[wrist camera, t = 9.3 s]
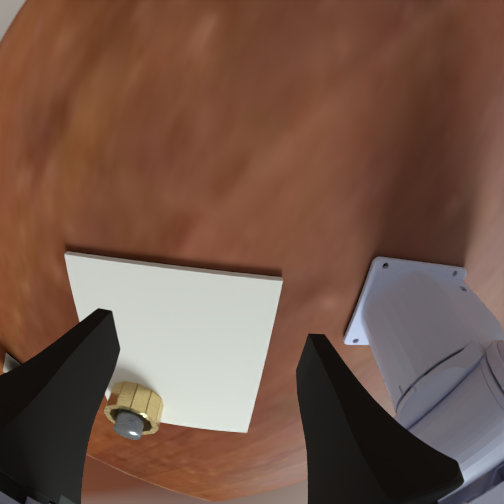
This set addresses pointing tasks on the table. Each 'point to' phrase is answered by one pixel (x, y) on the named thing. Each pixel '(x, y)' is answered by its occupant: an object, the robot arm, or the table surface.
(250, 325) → the mat
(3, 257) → the table surface
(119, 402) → the ring
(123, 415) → the piston
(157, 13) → the table surface
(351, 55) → the table surface
